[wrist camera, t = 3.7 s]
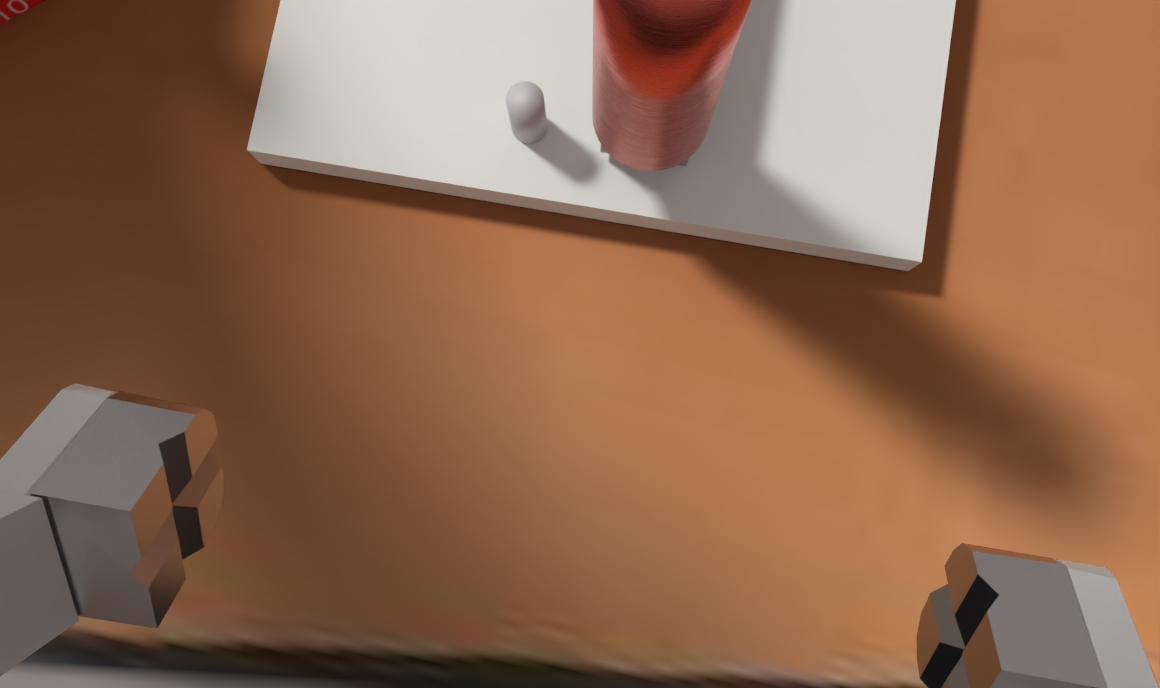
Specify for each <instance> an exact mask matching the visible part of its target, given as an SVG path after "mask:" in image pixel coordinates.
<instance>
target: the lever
mask: <svg viewBox="0 0 1160 688" xmlns="http://www.w3.org/2000/svg"><path fill="white" fill-rule="evenodd" d="M750 3H751V0H593V86H592V120H593V126H594V129H595V133H596V135H597V137H598V140H599V141H600V143H601V151H600V152H602V153H608V154H610V155H611V156H612V157H613V158H614V159H616V160H617V161H619V162H620V163H622V164H624V165H626V166H628V167H631V168H634V169H638V170H644V171H659V170H665V169H668V168H672V167H674V166H676V165H681V166H687V163H688V159H689V157H691V156H692V155H693V154H694V153H695V152H696V151H697V149H698V148H699V147H700V145H701V144H702V142H703V140H704V138H705V136H706V133H707V131H708V128H709V125H710V122H711V119H712V116H713V113H714V110H715V107H716V104H717V101H718V98H719V95H720V92H721V89H722V86H723V83H724V80H725V77H726V74H727V71H728V68H729V65H730V62H731V59H732V56H733V54H734V51H735V48H736V45H737V42H738V39H739V36H740V33H741V30H742V27H743V24H744V21H745V18H746V15H747V12H748V9H749V6H750Z"/></svg>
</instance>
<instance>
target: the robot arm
mask: <svg viewBox="0 0 1160 688" xmlns="http://www.w3.org/2000/svg"><path fill="white" fill-rule="evenodd" d="M217 437H218V433H217V428H216V423H215V417H214V413H212V412H210V411H208V410H206V409H203V408H198V407H193V406H189V405H184V404H179V403H174V402H169V401H164V400H159V399H154V398H149V397H144V396H139V395H134V394H130V393H125V392H120V391H119V392H115V391H110V390H105V389H100V388H96V387H91V386H86V385H81V384H76V383H75V384H72V385H70V386H68V387H66V388H64V389H62V390H61V391H59V392H58V394H57V395H56V396H55V397H54V398H53V399H52V400H51V402H50V403H49V404H48V405H47V406H46V407H45V408H44V410H43V411H42V412H41V413H40V414H39V415H38V416H37V418H36V419H35V420H34V421H33V422H32V423H31V425H30V426H29V427H28V428H27V429H26V430H25V431H24V433H23V434H22V435H21V436H20V437H19V438H18V439H17V441H16V442H15V443H14V444H13V445H12V446H11V447H10V449H9V450H8V451H7V452H6V453H5V454H4V455H3V457H2V458H1V459H0V676H1V675H3V674H4V673H6V672H7V671H8V670H10V669H11V668H13V667H14V666H15V665H17V664H18V663H20V662H21V661H23V660H24V659H25V658H27V657H28V656H30V655H31V654H32V653H34V652H35V651H37V650H38V649H40V648H41V647H42V646H44V645H45V644H47V643H48V642H49V641H51V640H52V639H54V638H55V637H56V636H58V635H59V634H61V633H62V632H64V631H65V630H66V629H68V628H69V627H71V626H72V625H73V624H75V623H76V622H78V620H79V618H78V616H81V617H87V618H94V619H100V620H107V621H113V622H119V623H126V624H132V625H138V626H145V627H151V628H158V626H159V625H160V623H161V621H162V619H163V618H164V616H165V614H166V613H167V611H168V609H169V607H170V606H171V604H172V602H173V600H174V599H175V597H176V595H177V593H178V592H179V590H180V588H181V587H182V585H183V583H184V581H185V580H186V578H185V572H184V567H183V561H182V560H183V559H185V558H186V557H188V556H190V555H191V554H193V553H195V552H197V551H198V550H200V549H202V548H203V547H204V546H205V544H206V542H207V541H208V539H209V537H210V535H211V533H212V531H213V529H214V528H215V525H216V522H217V519H218V515H219V512H220V509H221V505H222V502H223V491H224V476H223V468H222V465H221V464H220V462H219V461H218V460H217V459H216V458H215V457H214V456H213V455H212V454H211V453H210V451H209V450H210V448H211V447H212V445H213V443H214V442H215V440H216V438H217ZM945 571H946V576H947V581H948V584H947V585H945V586H943V587H941V588H939V589H937V590H935V591H933V592H932V593H930V595H929V597H928V600H927V602H926V604H925V606H924V608H923V610H922V612H921V616H920V622H919V627H918V632H917V663H918V669H919V676H920V679H921V680H922V681H923V683H924V684H925V685H926V686H927V687H928V688H1159V686H1158V684H1157V681H1156V679H1155V676H1154V674H1153V671H1152V669H1151V666H1150V663H1149V661H1148V658H1147V656H1146V653H1145V651H1144V648H1143V646H1142V643H1141V641H1140V638H1139V636H1138V633H1137V631H1136V628H1135V625H1134V623H1133V620H1132V618H1131V615H1130V613H1129V610H1128V608H1127V605H1126V603H1125V600H1124V598H1123V595H1122V593H1121V590H1120V588H1119V585H1118V582H1117V580H1116V578H1115V576H1114V575H1113V574H1112V573H1111V572H1110V571H1109V570H1108V568H1107V567H1101V566H1095V565H1089V564H1083V563H1077V562H1071V561H1065V560H1059V559H1058V560H1054V559H1052V558H1047V557H1041V556H1035V555H1029V554H1023V553H1017V552H1012V551H1006V550H1000V549H994V548H988V547H982V546H976V545H970V544H964V543H962V544H960V545H959V546H958V547H957V548H956V549H954V550H953V552H952V553H951V555H950V557H949V559H948V561H947V563H946V564H945Z"/></svg>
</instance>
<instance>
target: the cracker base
mask: <svg viewBox="0 0 1160 688" xmlns="http://www.w3.org/2000/svg"><path fill="white" fill-rule="evenodd" d="M955 3H956V0H751V3H750V6H749V9H748V12H747V15H746V18H745V21H744V24H743V27H742V30H741V33H740V36H739V39H738V42H737V45H736V48H735V51H734V54H733V56H732V59H731V62H730V65H729V68H728V71H727V74H726V77H725V80H724V83H723V86H722V89H721V92H720V95H719V98H718V101H717V104H716V107H715V110H714V113H713V116H712V119H711V122H710V125H709V128H708V131H707V133H706V136H705V138H704V140H703V142H702V144H701V145H700V147H699V148H698V149H697V151H696V152H695V153H694V154H693V155H692V156H691V157H689V159H688V163H687V166H681V165H676V166H674V167H672V168H668V169H665V170H659V171H644V170H638V169H634V168H631V167H628V166H626V165H624V164H622V163H620V162H619V161H617V160H616V159H614V158H613V157H612V156H611V155H610V154H608V153H602V152H600V151H601V143H600V141H599V140H598V137H597V135H596V133H595V129H594V126H593V120H592V86H593V0H281V1H280V5H279V9H278V14H277V18H276V23H275V27H274V32H273V36H272V40H271V45H270V49H269V54H268V58H267V62H266V67H265V71H264V76H263V80H262V85H261V89H260V93H259V98H258V102H257V107H256V111H255V115H254V120H253V124H252V129H251V133H250V138H249V142H248V146H247V151H248V152H249V153H250V154H251V155H252V156H253V157H254V158H255V159H256V160H258V161H259V162H260V163H261V164H266V165H272V166H278V167H284V168H290V169H296V170H302V171H308V172H314V173H320V174H326V175H332V176H338V177H344V178H350V179H357V180H363V181H369V182H375V183H381V184H387V185H393V186H399V187H405V188H411V189H417V190H423V191H429V192H435V193H441V194H447V195H453V196H459V197H465V198H471V199H477V200H483V201H489V202H495V203H501V204H507V205H513V206H519V207H525V208H531V209H537V210H543V211H549V212H555V213H561V214H567V215H573V216H579V217H585V218H591V219H597V220H603V221H609V222H615V223H621V224H627V225H633V226H639V227H645V228H651V229H657V230H663V231H669V232H675V233H681V234H687V235H693V236H699V237H705V238H711V239H717V240H723V241H729V242H735V243H741V244H747V245H753V246H759V247H765V248H771V249H777V250H783V251H789V252H795V253H801V254H808V255H814V256H820V257H826V258H832V259H838V260H844V261H850V262H856V263H862V264H868V265H874V266H880V267H886V268H892V269H898V270H904V271H909V270H911V269H912V268H914V267H915V266H917V265H918V264H920V263H921V262H922V258H923V250H924V243H925V235H926V227H927V219H928V212H929V204H930V196H931V189H932V181H933V173H934V165H935V158H936V150H937V142H938V135H939V127H940V119H941V111H942V104H943V96H944V88H945V81H946V73H947V65H948V57H949V50H950V42H951V34H952V27H953V19H954V11H955Z"/></svg>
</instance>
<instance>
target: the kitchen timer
mask: <svg viewBox="0 0 1160 688" xmlns="http://www.w3.org/2000/svg"><path fill="white" fill-rule="evenodd" d="M43 1H45V0H0V24H2V23H4V22H6V21H8V20H10V19H11V18H13V17H15V16H17V15H19V14H21V13H23V12H24V11H26V10H28V9H30V8H32V7H34V6H36V5H37V4H39V3H41V2H43Z"/></svg>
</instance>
